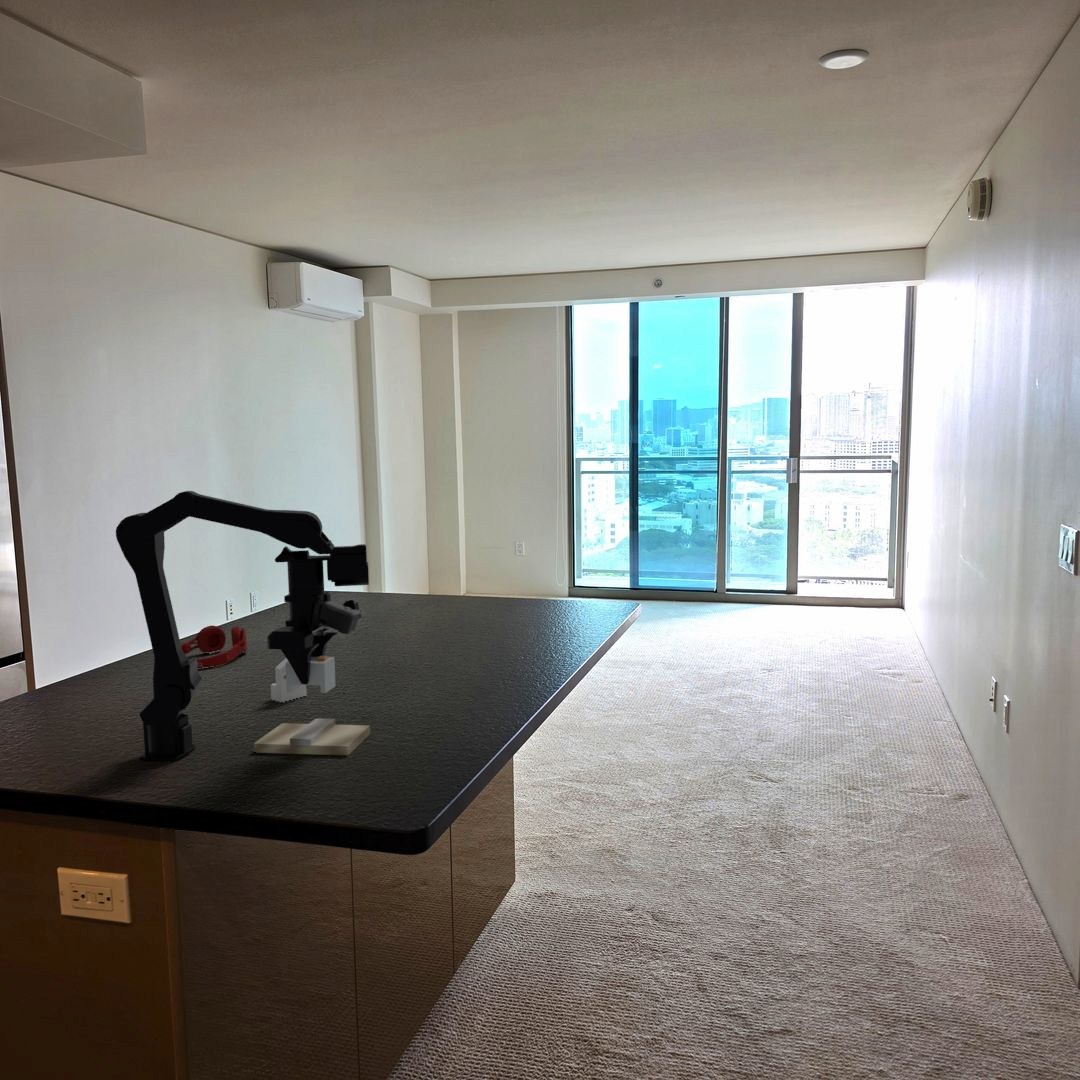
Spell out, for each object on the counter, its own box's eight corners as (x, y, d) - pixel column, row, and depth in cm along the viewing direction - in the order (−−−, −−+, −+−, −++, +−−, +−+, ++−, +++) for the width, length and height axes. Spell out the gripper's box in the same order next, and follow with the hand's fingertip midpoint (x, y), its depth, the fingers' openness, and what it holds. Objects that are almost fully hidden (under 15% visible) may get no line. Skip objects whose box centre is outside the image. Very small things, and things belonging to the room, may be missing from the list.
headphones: (208, 648, 227) (158, 679, 208) (204, 621, 226) (154, 650, 207) (261, 649, 224) (216, 681, 205) (257, 622, 222) (211, 652, 203)
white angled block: (323, 679, 185) (304, 647, 181) (289, 713, 179) (268, 680, 175) (312, 677, 187) (293, 644, 183) (278, 710, 181) (257, 678, 177)
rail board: (254, 752, 148) (253, 737, 148) (282, 731, 159) (281, 717, 159) (347, 755, 146) (347, 740, 145) (370, 733, 156) (369, 719, 156)
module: (286, 692, 149) (285, 659, 149) (297, 685, 154) (296, 653, 153) (325, 693, 148) (324, 659, 148) (335, 686, 153) (334, 653, 152)
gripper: (332, 597, 139) (336, 696, 141) (371, 579, 157) (375, 667, 159) (263, 597, 141) (268, 695, 142) (310, 579, 159) (314, 666, 161)
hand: (310, 680), depth 151 cm, fingers closed on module, 4 cm apart
